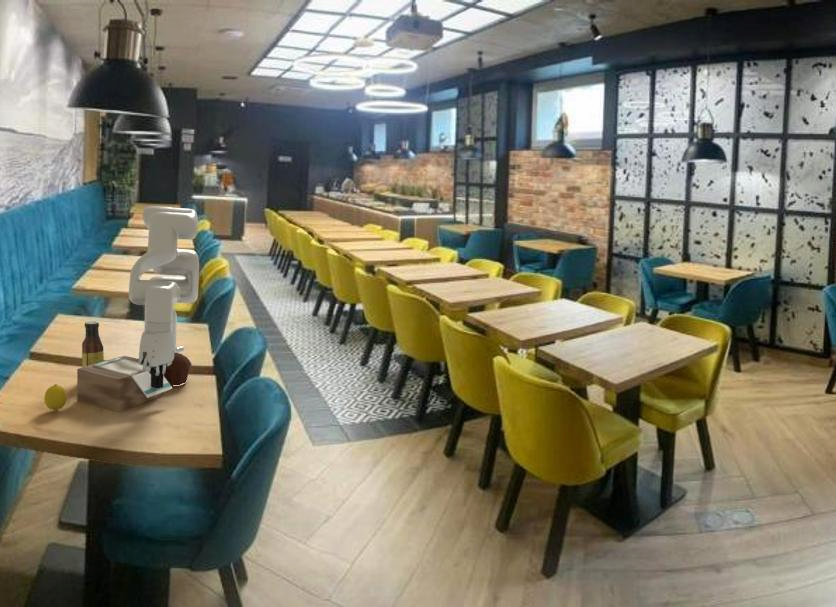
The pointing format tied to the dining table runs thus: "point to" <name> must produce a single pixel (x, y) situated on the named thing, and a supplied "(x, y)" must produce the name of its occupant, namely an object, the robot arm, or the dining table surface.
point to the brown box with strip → (111, 384)
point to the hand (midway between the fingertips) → (156, 387)
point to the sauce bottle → (92, 345)
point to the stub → (145, 384)
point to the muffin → (178, 370)
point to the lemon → (55, 397)
